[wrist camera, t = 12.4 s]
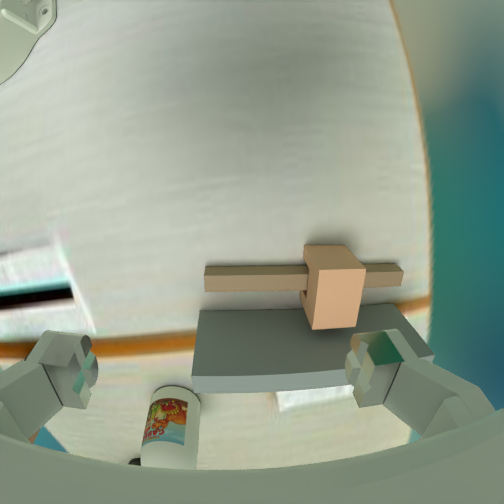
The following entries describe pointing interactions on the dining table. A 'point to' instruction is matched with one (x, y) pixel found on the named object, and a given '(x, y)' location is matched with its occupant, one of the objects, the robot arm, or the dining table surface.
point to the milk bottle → (171, 430)
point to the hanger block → (332, 286)
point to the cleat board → (284, 334)
